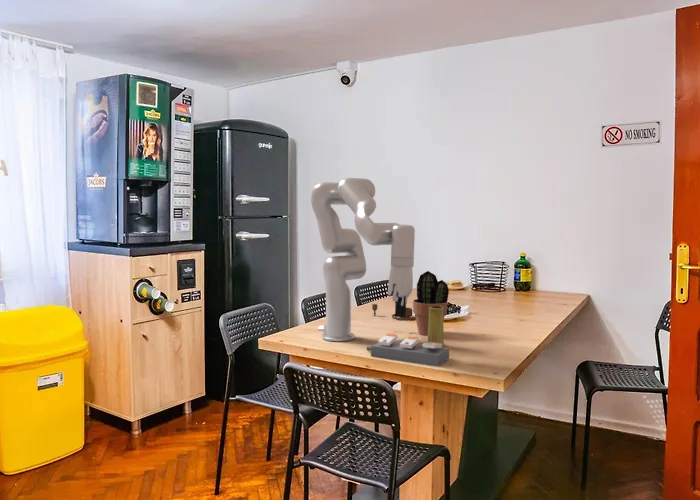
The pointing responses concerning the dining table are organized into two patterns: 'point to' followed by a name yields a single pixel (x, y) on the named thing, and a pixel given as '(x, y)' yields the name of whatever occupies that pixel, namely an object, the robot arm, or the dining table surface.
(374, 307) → the place setting
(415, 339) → the rocker mid
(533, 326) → the dining table surface
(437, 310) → the vase
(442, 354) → the power strip
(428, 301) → the potted plant
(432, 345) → the rocker right
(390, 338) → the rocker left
